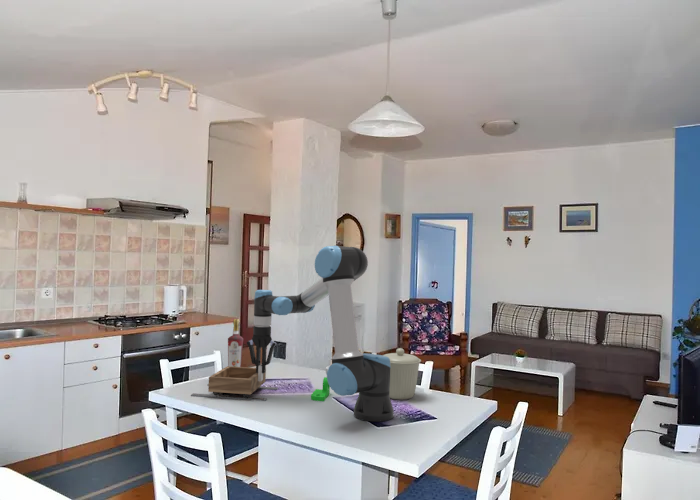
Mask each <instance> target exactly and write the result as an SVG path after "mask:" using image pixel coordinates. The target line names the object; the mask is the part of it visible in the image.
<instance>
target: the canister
mask: <svg viewBox="0 0 700 500" xmlns="http://www.w3.org/2000/svg"><path fill="white" fill-rule="evenodd" d="M382 355H383V356H387V357H388V358H389V359H390V366H391V369H390V393H389V396H390V400H391V399H392V400H398V401H401V400H403V401H404V400H409V399H412V398H413V397H414V396H415V393H416V389H417V382H418V375H419V368H420V364H421V362H422V359H420V358H419V357H418V356H416V355H413V354H409V353H405V350H404V349H403V348H402V347H400V348H399V347H398V348H397V349H396V351H395V352H391V353H385V354H382Z"/></svg>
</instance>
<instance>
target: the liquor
mask: <svg viewBox="0 0 700 500" xmlns="http://www.w3.org/2000/svg"><path fill="white" fill-rule="evenodd" d="M232 322H233V323H232V324H233V327H232V328H233V330H232V335H231V336H229V337H228V338H227V366H232V367H242V359H243V357H242V356H243V346H244V345H243V344H244V338H243V336H241V335H240V334H239V333H240V331H239V328H240V327H239V325H240V319H239V318H233V321H232Z"/></svg>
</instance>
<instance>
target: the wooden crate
mask: <svg viewBox="0 0 700 500" xmlns="http://www.w3.org/2000/svg"><path fill="white" fill-rule="evenodd" d="M266 371H267V369H266V370H265V373H263V380H262V381H258V373H256V367H248V366H247V367H246V366H241V367H232V366H228V365H227V366H225V367H223V368H222V369H220V370H218V371H217V372H215V373H213V374H211V375H210V376H208V384H209V386H208V389H207V390H208V393H209V392H211V393H212V395H220V394H219V393H222V394H223V393H226V394H239V395H242V397H250V395H252V394H253V393H254V392H255V391H257V390H259V389H258V388H259V387H260V386H262V385H263V384H264V383H266V374H267V372H266Z"/></svg>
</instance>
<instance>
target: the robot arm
mask: <svg viewBox="0 0 700 500" xmlns="http://www.w3.org/2000/svg"><path fill="white" fill-rule="evenodd" d="M368 263H369V262H368V257H367V254H366V253H365V252H364V251H363V250H362V249H360V248H358V247H355V246H341V245H339V246H338V245H327V246H324V247H322V248H321V249H320V250H319V251H318V253H317V254H316V257H315V259H314V271H315V273H316V274H317V275H318V277H320V279H319V280H317V281H315V282H314V283H313V284H312V285H310V286H309V287H307V288H306V289H305V290H304V291H302V292H301V293H299V294H298V295H278V296H277V295H273V291H272V290H270V289H256V291H254V298H253V300H254V301H253V330H252V331H253V333H252V337H251V339H250V340H248V341H247V342H246V344H247V346H248V350H249V355H250V359H251V364H252V365H255V368H256V373H258V381H262V380H263V373H265V370H266V371H267V369H266V366H267V365H270V363H271V361H272V356H273V354H274V350H275V347H276V346H277V344H278V343H277V342H276V341H274V340H273V339H272V327H271V326H272V315H278V316H287V315H290V314H306V313H310V312H312V311H313V310H314V309H315V305H316V304H318V303H320V302H321V301H323V300H324V299H326V298H327V297H328V300H329V302H328V303H329V310H330V317H331V320H330V321H331V328H332V336H333V345H334V354H333V356H332V357H331V365H329V366H330V367H329V368H328V369H329V370H328V371H327V375H326V377H327V380H328V384H329V386H330V390H332V391H333V392H334V393H335V394H336V395H338V396H341V397H345V396H353V395H355V394H358V396H357V398H356V401H355V404H354V408H353V416H354V417H355V418H356V419H358V420H361V421H365V422H387V421H390V420H392V419H393V418H394V415H395V414H394V407H393V404H392V400H391V398H390V396H389V393H390V369H391V366H390V359H389V358H388V357H387V356H383V355H384V354H382V355H381V354H377V353H375V354H374V353H364V352H361V350H360V349H359V342H358V341H359V340H358V332H357V325H356V320H355V319H356V317H355V309H354V301H353V293H352V284H353V282H355V281H356V280H358V279H359V278H360V277H362V276H363V275H364V274H365V273H366V272H367V269H368ZM254 345H255V347H254ZM269 345H270V347H269V350H268V355H267V349H268V346H269ZM255 350H256V351H255ZM261 350H262V351H261ZM255 352H256V353H255Z"/></svg>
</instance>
